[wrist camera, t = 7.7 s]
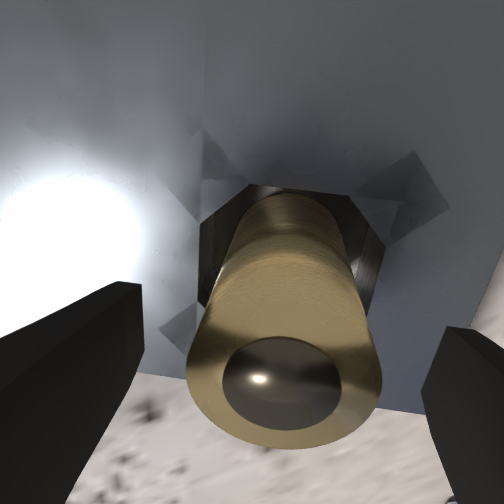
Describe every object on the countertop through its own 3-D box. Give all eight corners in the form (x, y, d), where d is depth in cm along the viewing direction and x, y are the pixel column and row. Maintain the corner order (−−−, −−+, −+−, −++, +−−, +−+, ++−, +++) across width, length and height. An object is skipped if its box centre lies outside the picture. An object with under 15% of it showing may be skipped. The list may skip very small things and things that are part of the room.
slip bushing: (352, 202, 13) (411, 325, 6) (328, 297, 15) (355, 469, 8) (240, 185, 13) (187, 289, 7) (230, 281, 15) (180, 438, 8)
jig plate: (561, -40, 9) (645, -77, 7) (410, 367, 16) (430, 415, 13) (-87, -93, 10) (-192, -141, 8) (9, 310, 16) (-36, 346, 14)
